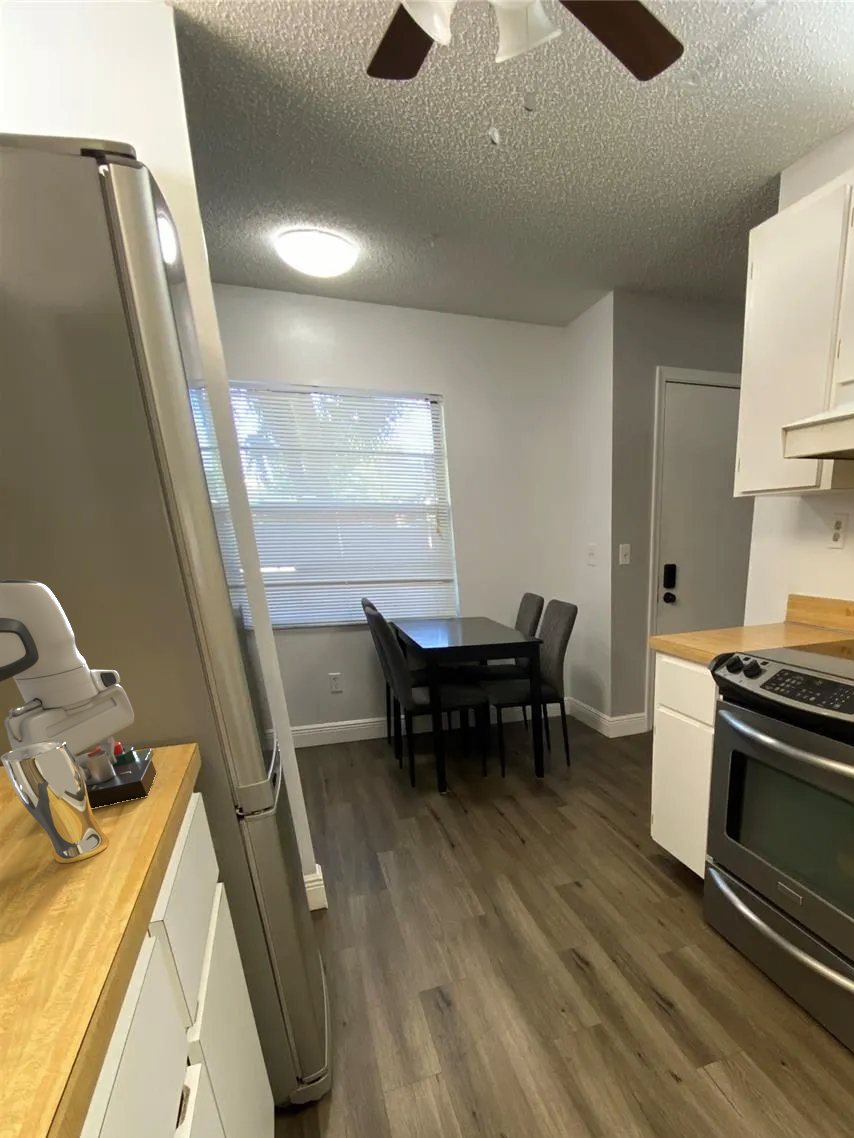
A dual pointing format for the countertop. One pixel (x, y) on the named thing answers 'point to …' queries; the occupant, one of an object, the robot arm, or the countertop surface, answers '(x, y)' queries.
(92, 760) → the knob
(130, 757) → the switch block
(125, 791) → the panel
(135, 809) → the countertop surface
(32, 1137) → the countertop surface
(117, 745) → the button
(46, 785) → the beer glass
